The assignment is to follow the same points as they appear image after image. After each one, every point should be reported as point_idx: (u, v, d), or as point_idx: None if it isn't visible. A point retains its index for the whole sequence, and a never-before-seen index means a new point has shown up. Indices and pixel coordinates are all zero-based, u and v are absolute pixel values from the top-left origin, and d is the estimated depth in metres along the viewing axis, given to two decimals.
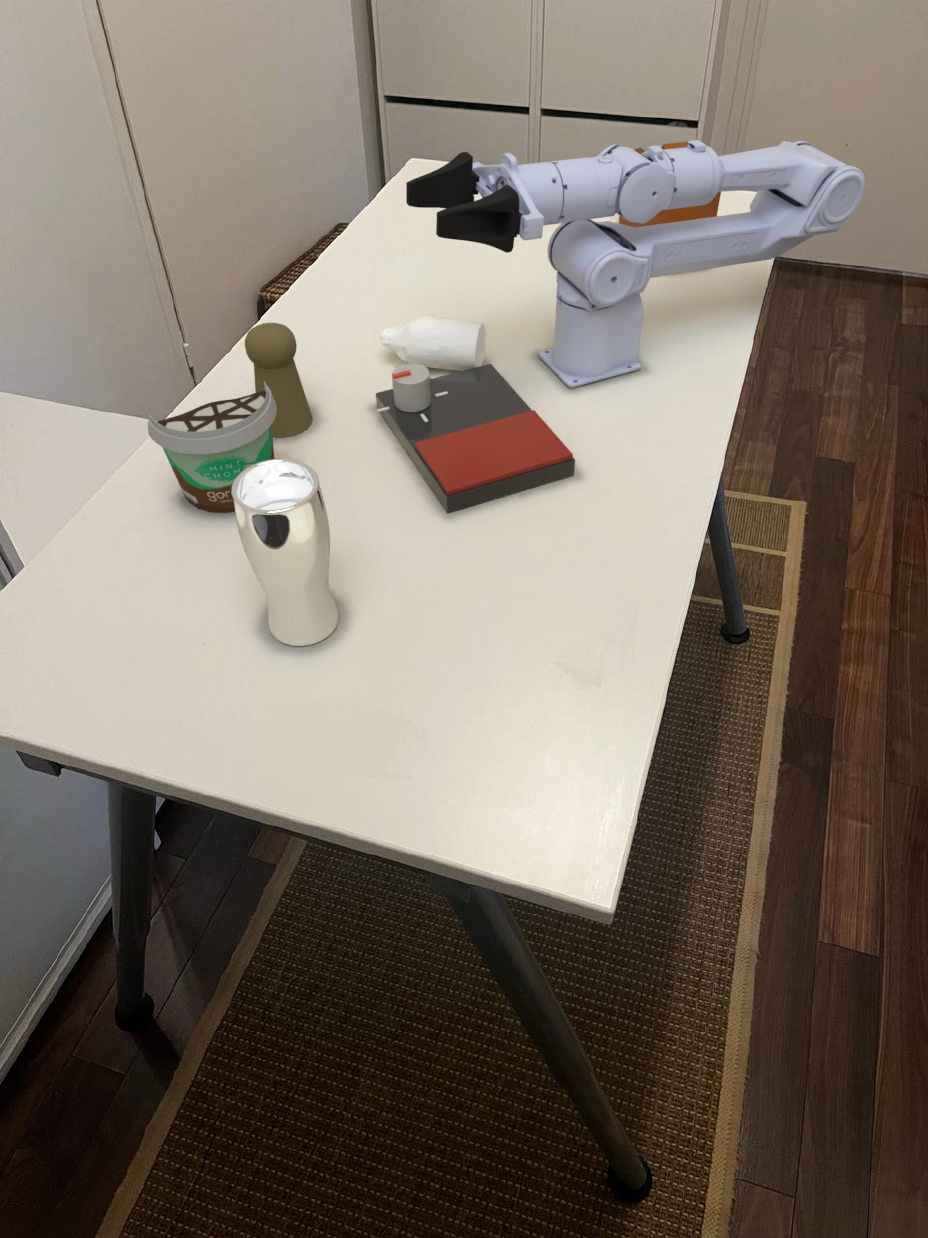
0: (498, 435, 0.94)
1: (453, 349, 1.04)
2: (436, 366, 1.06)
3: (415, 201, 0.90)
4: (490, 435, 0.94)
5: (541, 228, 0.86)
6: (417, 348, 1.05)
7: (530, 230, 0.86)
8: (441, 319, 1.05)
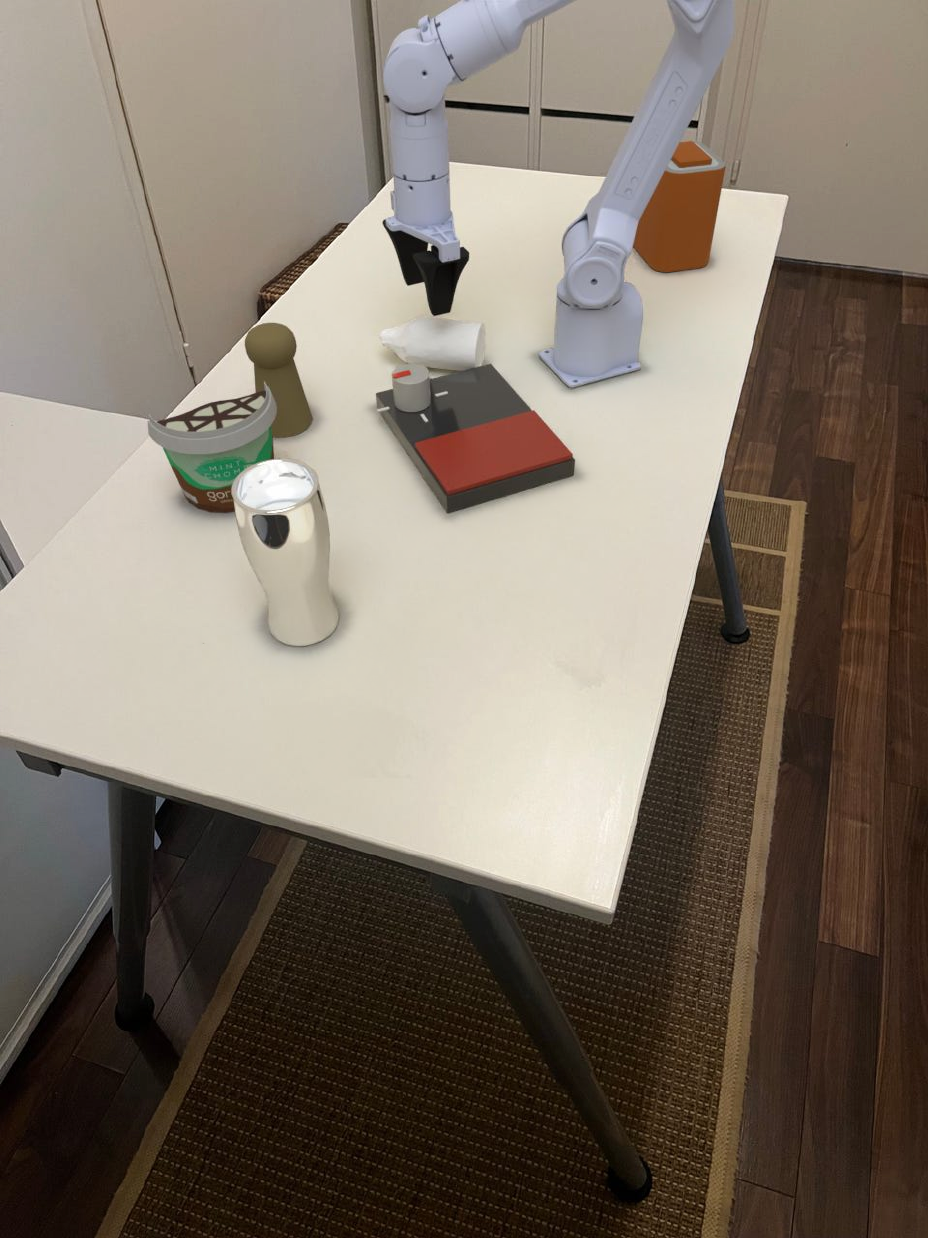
0: (498, 435, 0.94)
1: (453, 349, 1.04)
2: (436, 366, 1.06)
3: (421, 276, 1.05)
4: (490, 435, 0.94)
5: (451, 243, 0.92)
6: (417, 348, 1.05)
7: (452, 254, 0.93)
8: (441, 319, 1.05)
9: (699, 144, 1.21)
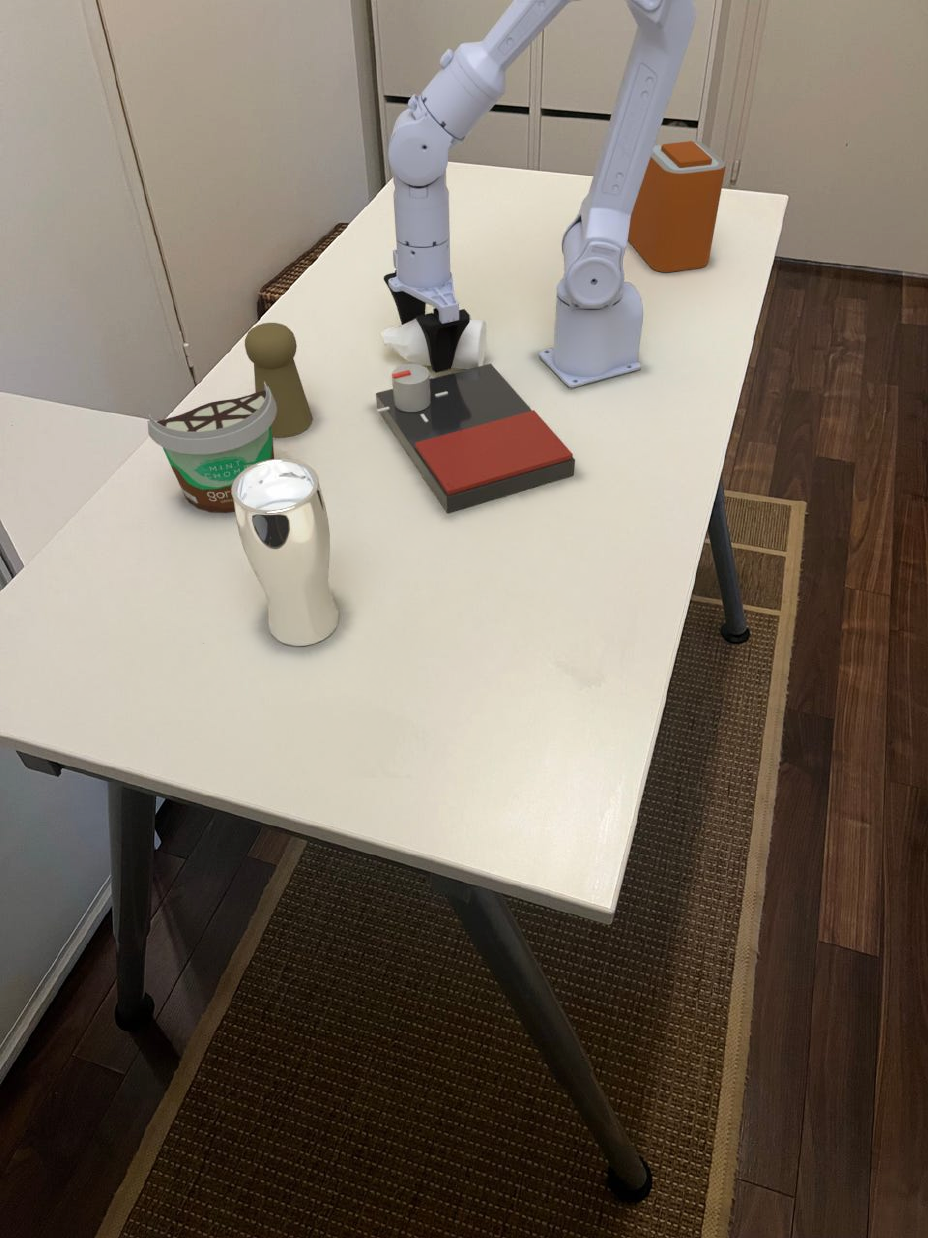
0: (498, 435, 0.94)
1: None
2: None
3: None
4: (490, 435, 0.94)
5: (451, 306, 0.97)
6: (419, 347, 1.05)
7: (451, 316, 0.98)
8: None
9: (699, 144, 1.21)
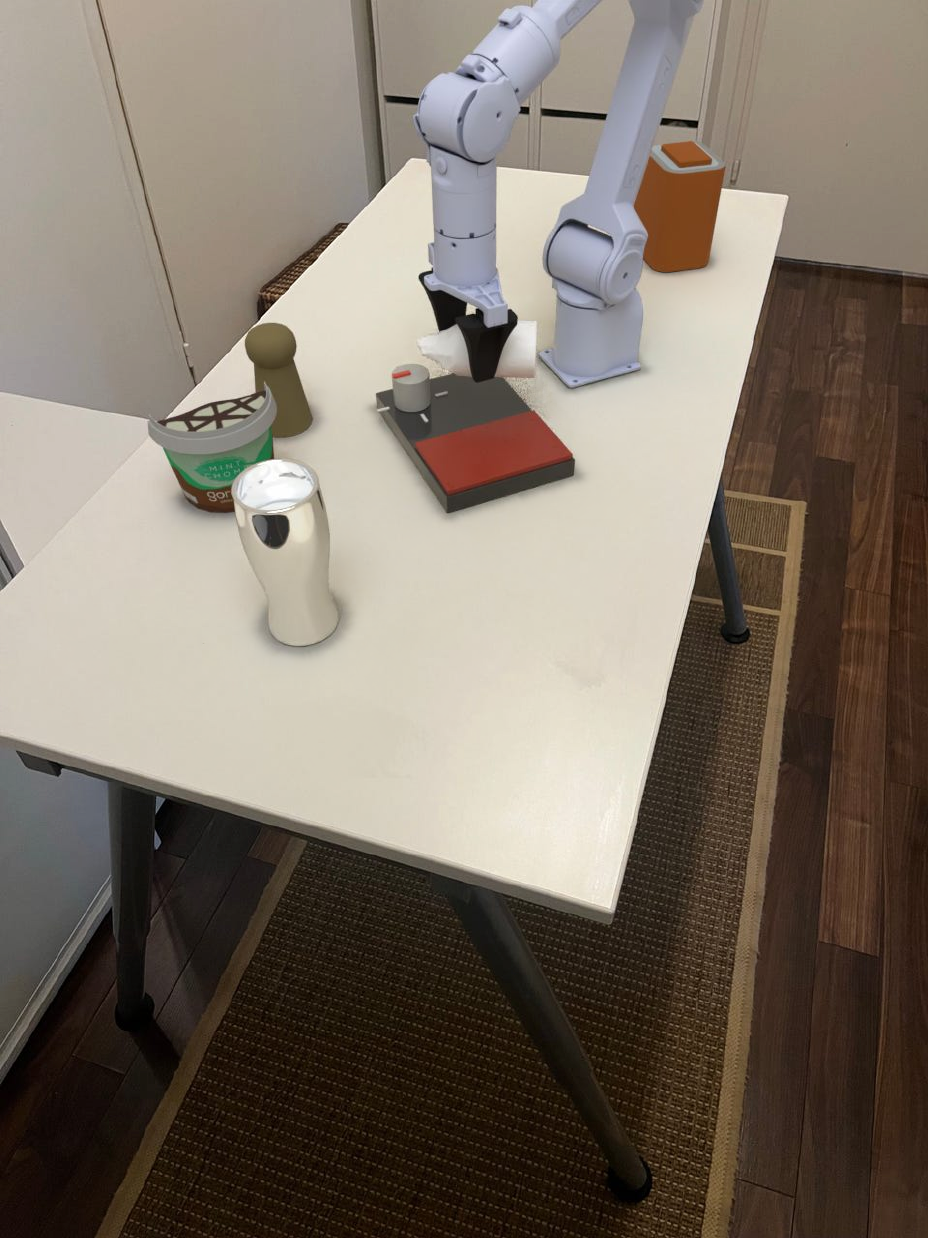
0: (498, 435, 0.94)
1: (509, 353, 0.90)
2: None
3: None
4: (490, 435, 0.94)
5: (498, 307, 0.83)
6: (466, 356, 0.91)
7: (499, 319, 0.83)
8: None
9: (699, 144, 1.21)
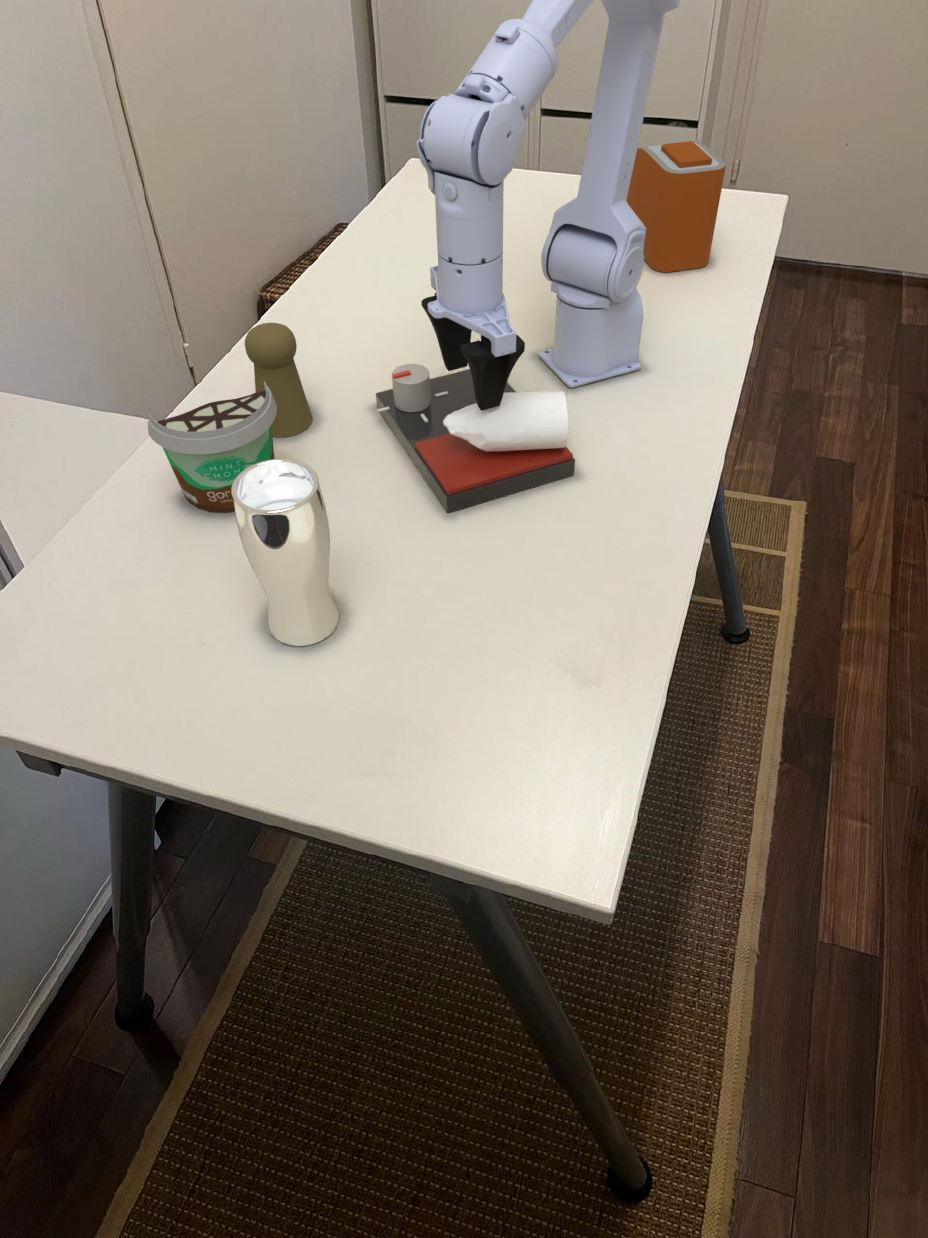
0: None
1: (542, 427, 0.89)
2: (519, 449, 0.91)
3: (463, 361, 0.92)
4: None
5: (507, 336, 0.79)
6: (498, 433, 0.89)
7: (507, 348, 0.80)
8: (517, 394, 0.90)
9: (699, 144, 1.21)
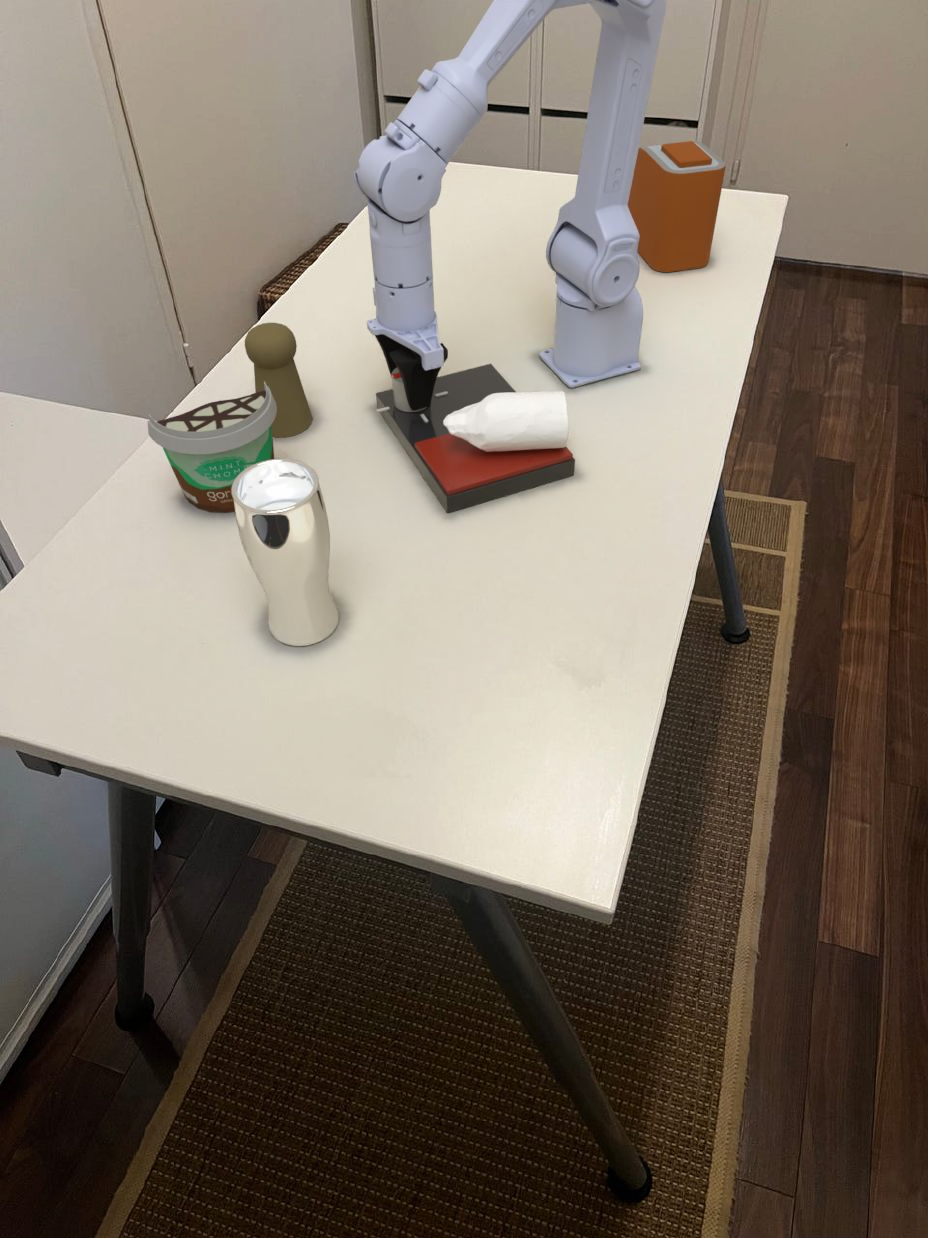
0: None
1: (542, 427, 0.89)
2: (519, 449, 0.91)
3: None
4: None
5: (434, 352, 0.88)
6: (498, 433, 0.89)
7: (435, 362, 0.89)
8: (517, 394, 0.90)
9: (699, 144, 1.21)
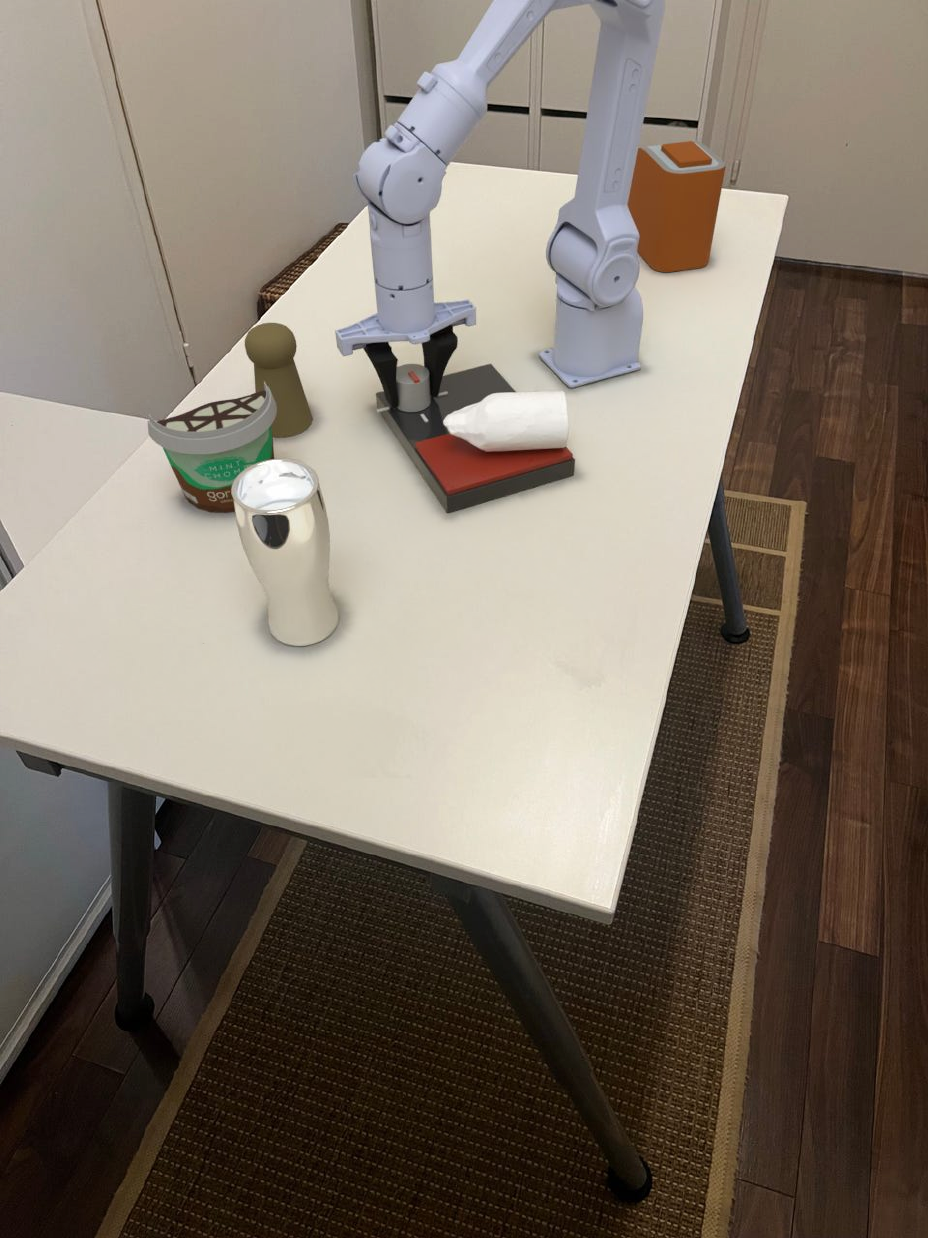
0: None
1: (542, 427, 0.89)
2: (519, 449, 0.91)
3: None
4: None
5: None
6: (498, 433, 0.89)
7: None
8: (517, 394, 0.90)
9: (699, 144, 1.21)
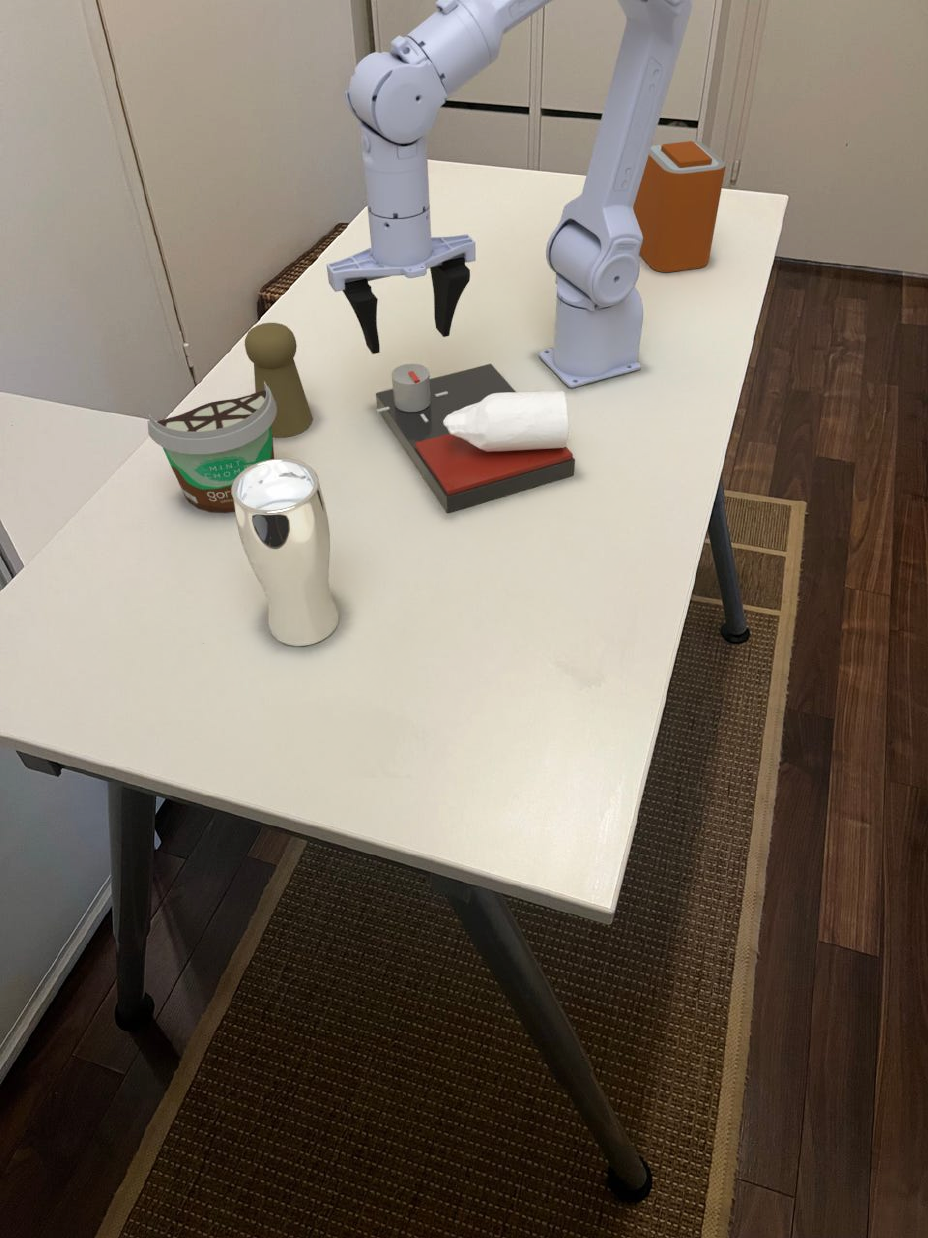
0: None
1: (542, 427, 0.89)
2: (519, 449, 0.91)
3: None
4: None
5: None
6: (498, 433, 0.89)
7: None
8: (517, 394, 0.90)
9: (699, 144, 1.21)
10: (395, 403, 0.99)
